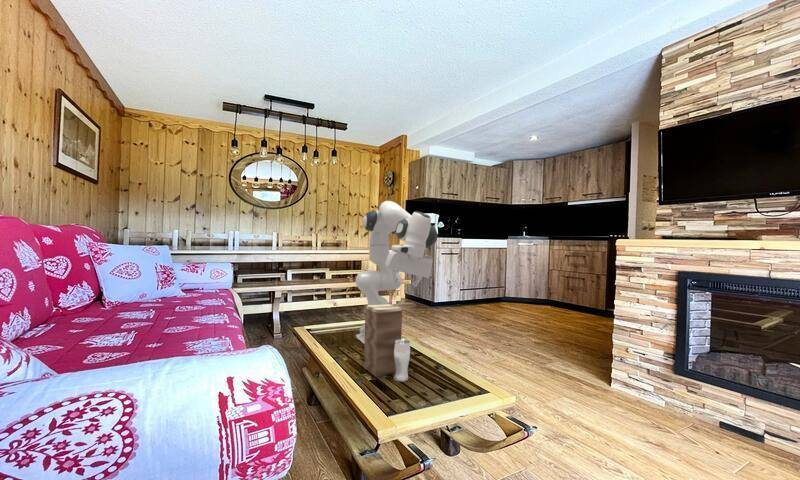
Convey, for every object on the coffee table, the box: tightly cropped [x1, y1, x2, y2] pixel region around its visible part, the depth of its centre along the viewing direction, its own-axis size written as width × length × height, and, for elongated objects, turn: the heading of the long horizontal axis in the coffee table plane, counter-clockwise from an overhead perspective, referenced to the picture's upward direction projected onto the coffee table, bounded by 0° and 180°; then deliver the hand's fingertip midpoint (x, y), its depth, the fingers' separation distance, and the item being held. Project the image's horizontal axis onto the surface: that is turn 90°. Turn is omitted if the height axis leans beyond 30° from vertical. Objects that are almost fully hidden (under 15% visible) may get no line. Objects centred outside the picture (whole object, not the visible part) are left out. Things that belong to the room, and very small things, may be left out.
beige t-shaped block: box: [366, 302, 416, 313], centre depth 150 cm, size 11×21×2 cm, turn 122°
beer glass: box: [393, 338, 411, 383], centre depth 138 cm, size 7×7×15 cm
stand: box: [363, 308, 403, 378], centre depth 147 cm, size 11×12×26 cm
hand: (404, 284), depth 138 cm, fingers open, 8 cm apart
